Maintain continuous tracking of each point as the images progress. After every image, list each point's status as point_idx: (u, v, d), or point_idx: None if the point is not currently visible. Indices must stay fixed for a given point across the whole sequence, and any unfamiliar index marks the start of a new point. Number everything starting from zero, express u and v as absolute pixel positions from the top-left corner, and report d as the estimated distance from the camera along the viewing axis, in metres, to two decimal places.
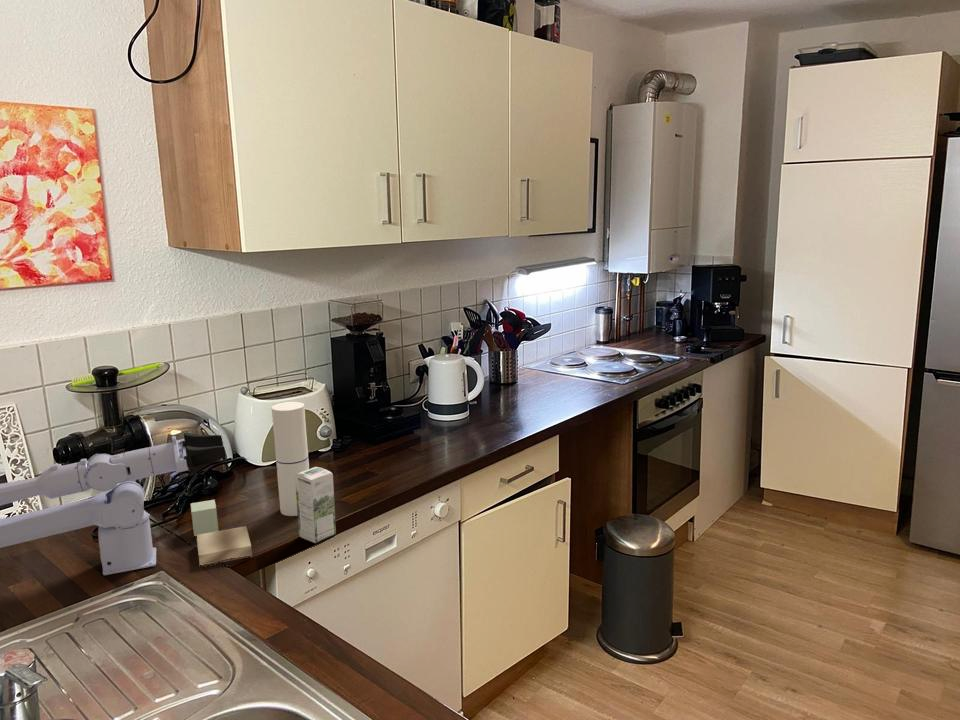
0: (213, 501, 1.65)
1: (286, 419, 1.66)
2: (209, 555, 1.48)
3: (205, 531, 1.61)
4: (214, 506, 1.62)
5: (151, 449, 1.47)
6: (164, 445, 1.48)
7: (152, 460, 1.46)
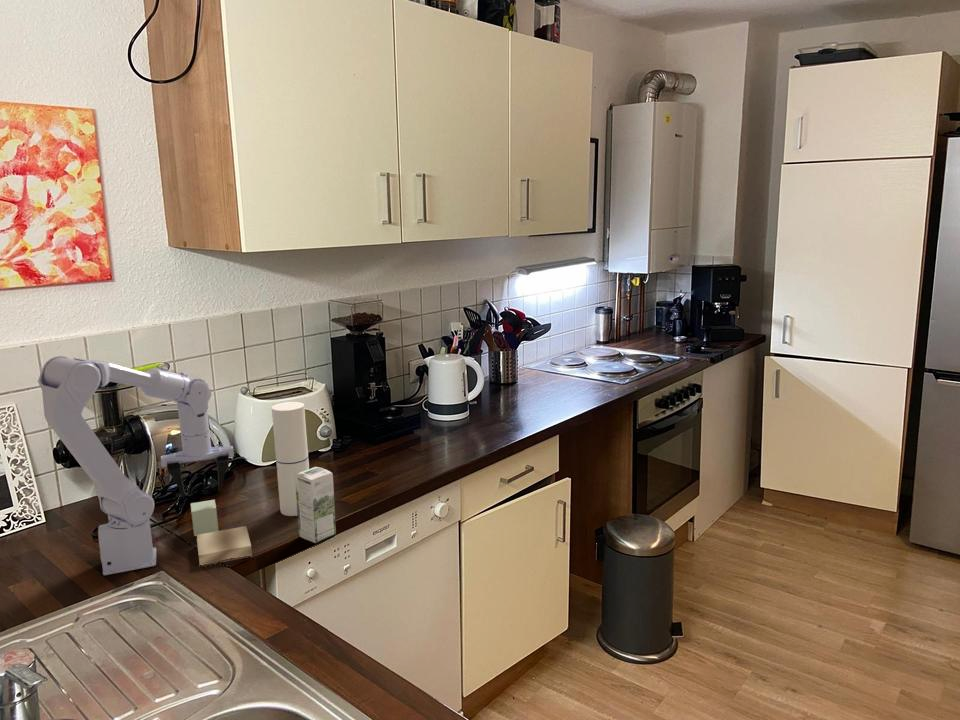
0: (213, 501, 1.65)
1: (286, 419, 1.66)
2: (209, 555, 1.48)
3: (205, 531, 1.61)
4: (214, 506, 1.62)
5: None
6: None
7: None
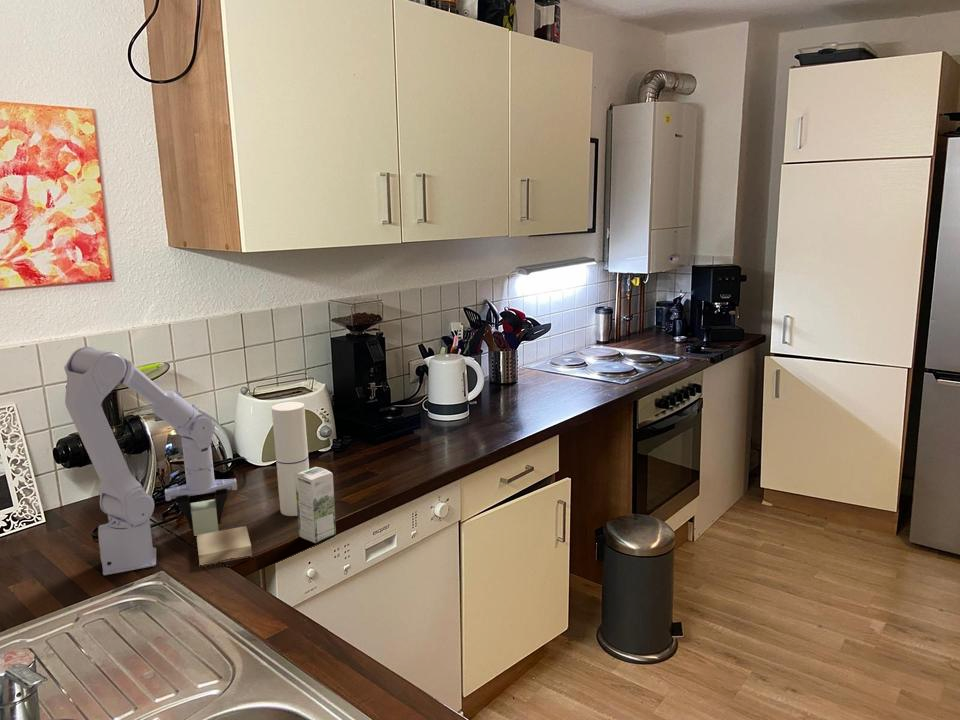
0: (213, 501, 1.65)
1: (286, 419, 1.66)
2: (209, 555, 1.48)
3: (205, 531, 1.61)
4: (214, 506, 1.62)
5: None
6: None
7: None
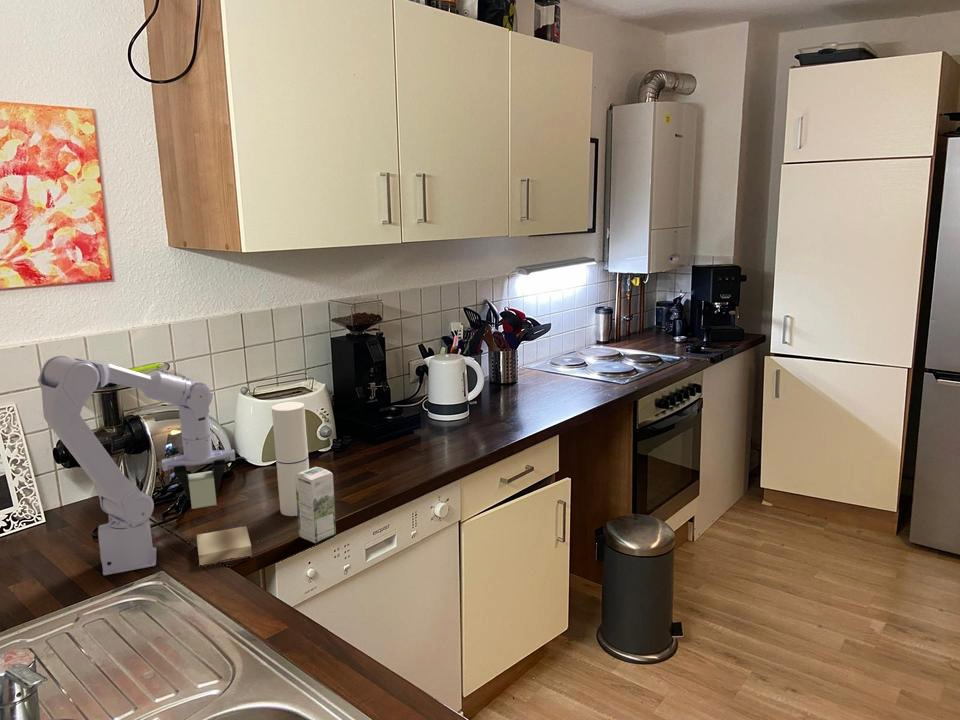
0: (211, 472, 1.63)
1: (287, 419, 1.66)
2: (209, 555, 1.48)
3: (203, 502, 1.59)
4: (212, 477, 1.60)
5: None
6: None
7: None
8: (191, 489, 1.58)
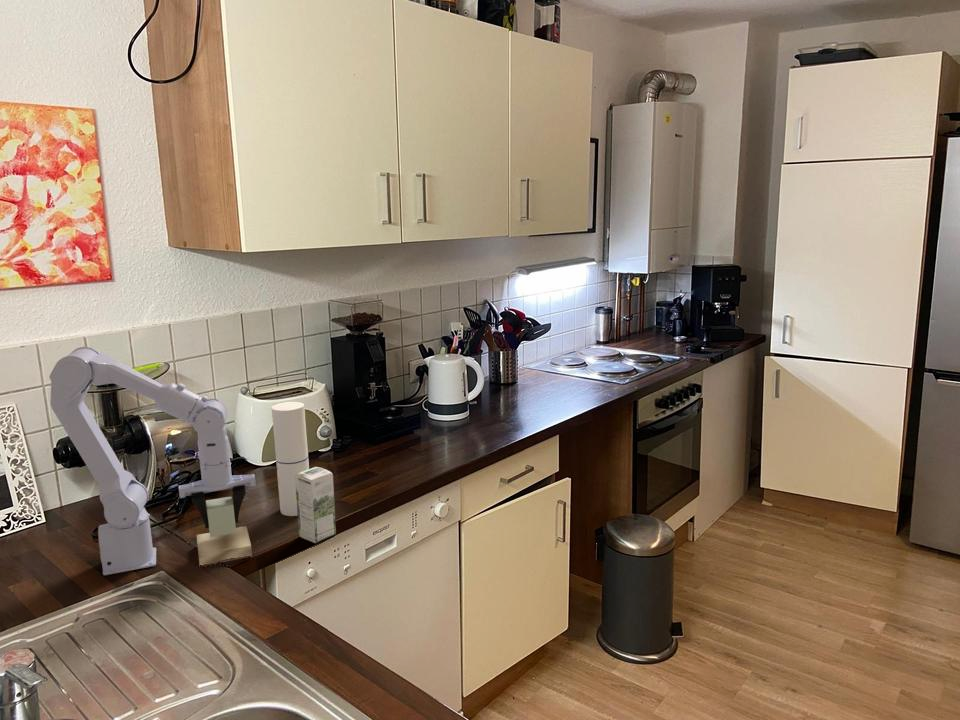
0: (230, 498, 1.54)
1: (286, 419, 1.66)
2: (209, 555, 1.48)
3: (222, 530, 1.51)
4: (231, 503, 1.51)
5: None
6: None
7: None
8: (209, 516, 1.50)
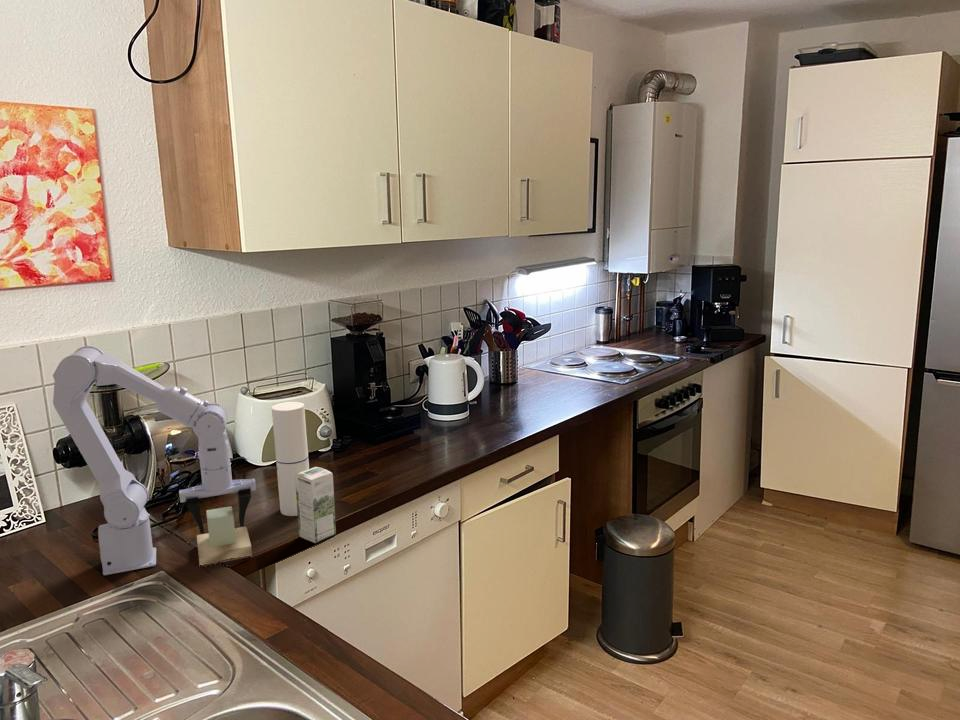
0: (230, 508, 1.55)
1: (286, 419, 1.66)
2: (209, 555, 1.48)
3: (222, 540, 1.51)
4: (231, 514, 1.52)
5: None
6: None
7: None
8: (210, 527, 1.50)
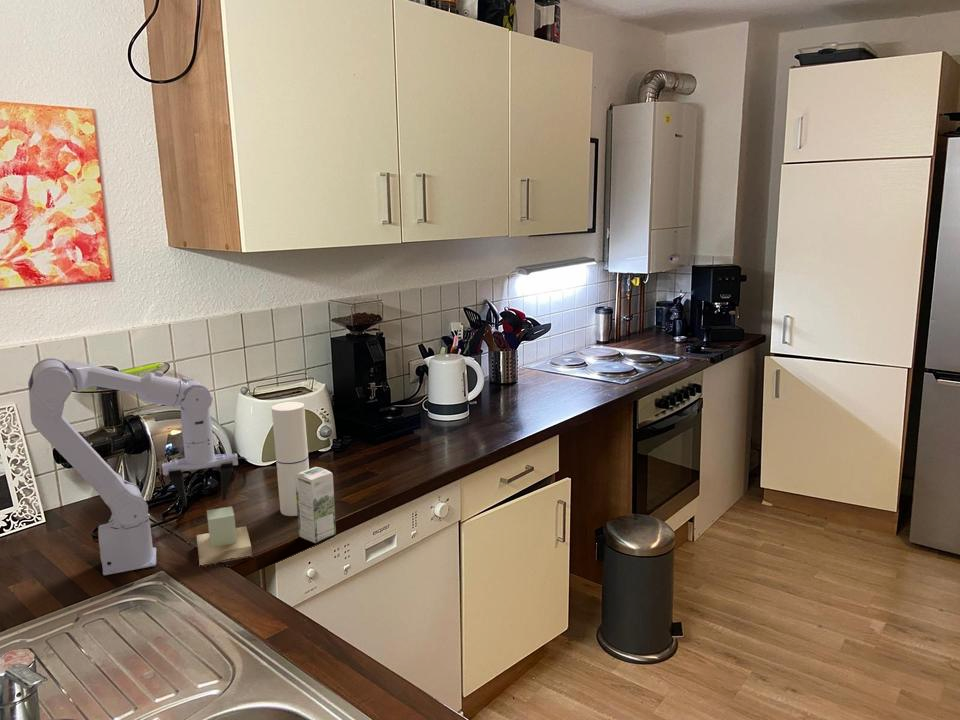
0: (231, 508, 1.55)
1: (286, 419, 1.66)
2: (209, 555, 1.48)
3: (222, 540, 1.51)
4: (232, 514, 1.52)
5: None
6: None
7: None
8: (210, 527, 1.50)
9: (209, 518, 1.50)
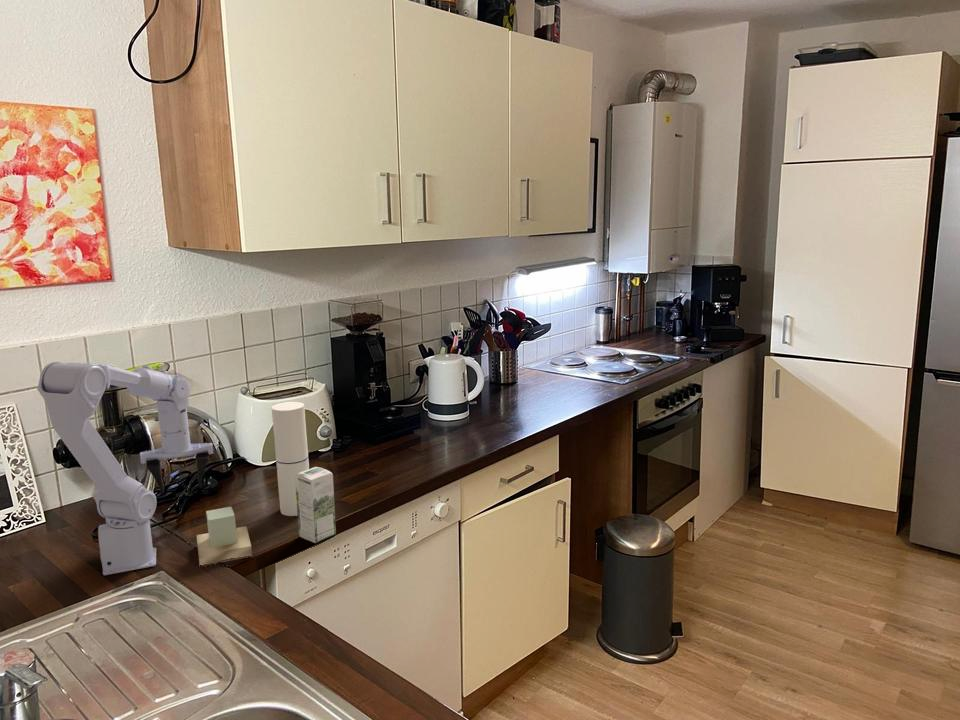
0: (230, 508, 1.55)
1: (286, 419, 1.66)
2: (209, 555, 1.48)
3: (223, 540, 1.51)
4: (232, 514, 1.52)
5: None
6: None
7: None
8: (211, 527, 1.50)
9: (209, 518, 1.50)
